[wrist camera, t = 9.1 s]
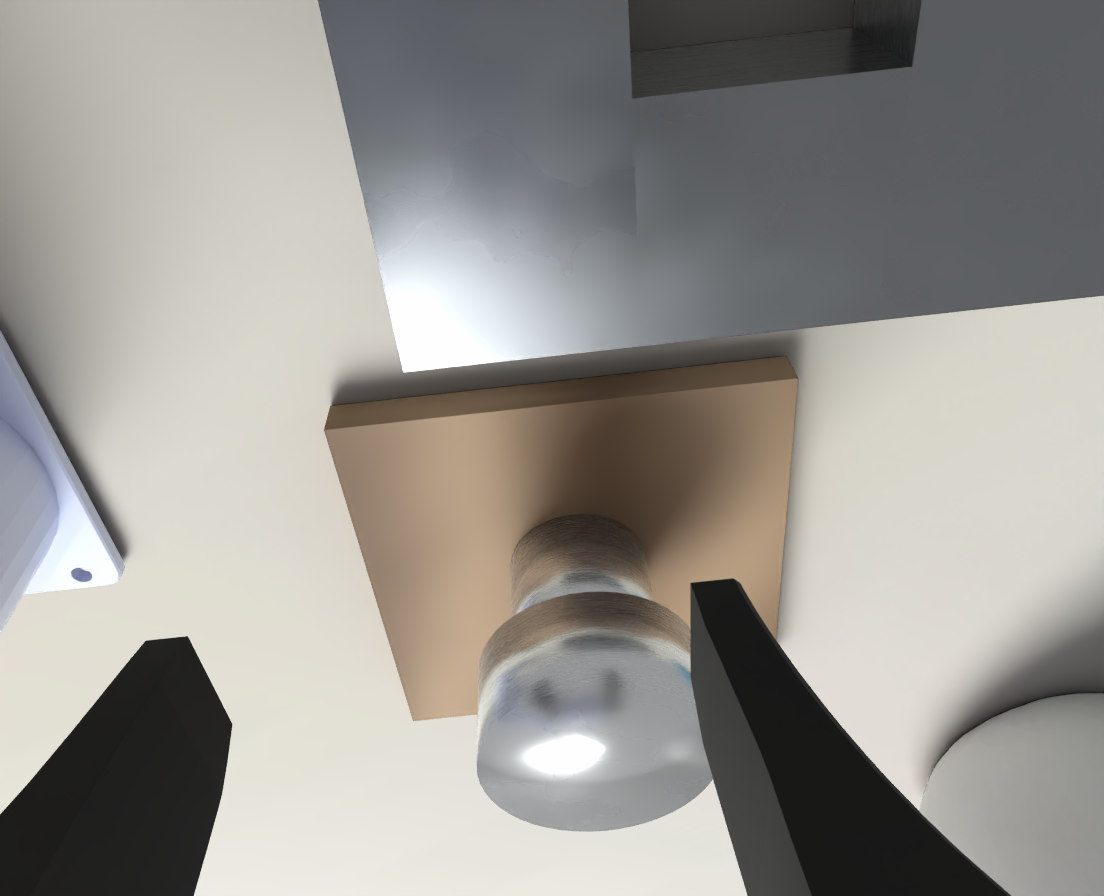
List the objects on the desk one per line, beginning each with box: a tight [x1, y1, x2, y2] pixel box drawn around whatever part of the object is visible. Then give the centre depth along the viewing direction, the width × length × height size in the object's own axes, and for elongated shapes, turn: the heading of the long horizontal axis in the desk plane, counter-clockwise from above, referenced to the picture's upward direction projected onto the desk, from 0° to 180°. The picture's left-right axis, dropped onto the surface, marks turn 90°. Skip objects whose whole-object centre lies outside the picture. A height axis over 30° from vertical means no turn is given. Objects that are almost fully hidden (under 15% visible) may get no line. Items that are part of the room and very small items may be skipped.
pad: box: [324, 356, 798, 721], centre depth 24 cm, size 11×11×1 cm
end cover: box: [477, 514, 713, 831], centre depth 21 cm, size 5×5×6 cm
